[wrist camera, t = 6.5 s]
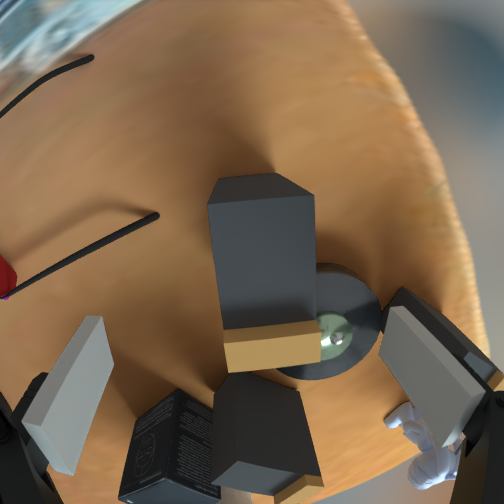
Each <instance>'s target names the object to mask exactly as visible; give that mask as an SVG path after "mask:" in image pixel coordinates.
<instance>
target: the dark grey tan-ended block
mask: <svg viewBox="0 0 504 504" xmlns="http://www.w3.org/2000/svg"><path fill="white" fill-rule="evenodd" d="M207 208H208V217H209V225H210V233H211V241H212V249H213V256H214V264H215V271H216V279H217V286H218V293H219V300H220V307H221V314H222V320H223V327H224V349H225V355H226V361H227V367H228V373H231V372H243V371H253V370H263V369H271V368H280V367H288V366H295V365H302V364H309V363H316V362H320V358H321V333H322V332H321V330H320V328H319V325H318V323H317V321H316V236H315V204H314V195H313V194H312V193H310V192H308V191H307V190H305V189H303V188H302V187H300V186H298V185H297V184H295V183H293V182H292V181H290V180H288V179H287V178H285V177H283V176H281V175H280V174H278V173H272V174H259V175H248V176H237V177H227V178H219V179H218V181H217V183H216V185H215V188H214V190H213V192H212V194H211V197H210V199H209V201H208V204H207Z"/></svg>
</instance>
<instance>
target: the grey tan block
mask: <svg viewBox="0 0 504 504" xmlns="http://www.w3.org/2000/svg"><path fill="white" fill-rule="evenodd" d="M211 484H214V485H218V486H223V487H227V488H232V489H236V490H241V491H246V492H251V493H257V494H263V495H269V496H274V503H275V504H299V503H301V502H302V501H304V500H305V499H307V498H309V497H310V496H312V495H313V494H315V493H316V492H318V491H319V490H321V489H322V488H324V484H323V480H322V476H321V472H320V469H319V465H318V461H317V457H316V453H315V449H314V445H313V441H312V438H311V434H310V430H309V426H308V422H307V418H306V415H305V411H304V407H303V403H302V399H301V396H300V392H299V391H296V390H293V389H290V388H288V387H285V386H282V385H279V384H277V383H274V382H271V381H269V380H266V379H263V378H261V377H258V376H256V375H253V374H251V373H248V372H246V371H243V372H231V373H230V374H229V375H228V377H227V378H226V379H225V381H224V382H223V383H222V384H221V386H220V387H219V388H218V390H217V391H216V392H215V394H214V403H213V426H212V454H211Z"/></svg>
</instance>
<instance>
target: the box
mask: <svg viewBox="0 0 504 504" xmlns="http://www.w3.org/2000/svg"><path fill="white" fill-rule="evenodd" d="M212 426H213V410H212V409H210V408H209V407H207V406H205V405H204V404H202V403H200V402H199V401H197V400H196V399H194V398H193V397H191V396H190V395H188V394H187V393H185V392H183V391H182V390H180V389H177V390H175V391H174V392H173V393H171V394H170V395H169V396H168V397H166V398H165V399H164V400H162V401H161V402H160V403H158V404H157V405H156V406H154V407H153V408H152V409H150V410H149V411H148V412H147V413H145V414H144V415H142V416H141V417H140V418H138V419H137V420H136V422H135V426H134V430H133V433H132V438H131V442H130V446H129V450H128V454H127V458H126V462H125V467H124V471H123V476H122V480H121V485H120V490H119V495H118V500H119V501H122V502H125V503H127V504H215V503H218V502H221V486H218V485H214V484H211V454H212Z"/></svg>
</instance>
